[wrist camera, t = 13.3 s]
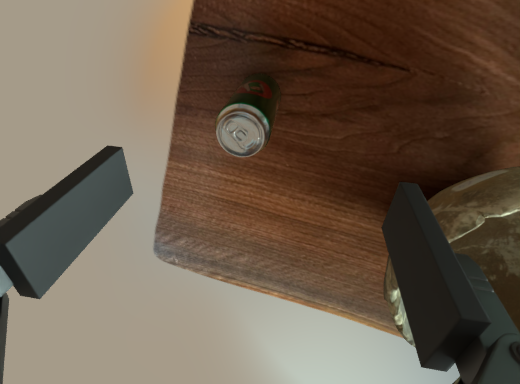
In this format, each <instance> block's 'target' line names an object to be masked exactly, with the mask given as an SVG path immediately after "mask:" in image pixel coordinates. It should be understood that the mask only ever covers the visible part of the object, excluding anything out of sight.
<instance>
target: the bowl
mask: <svg viewBox="0 0 520 384" xmlns="http://www.w3.org/2000/svg"><path fill="white" fill-rule="evenodd" d="M427 202H428V204H429V206H430V208H431V210H432V212H433V214H434V216H435V217H436V219H437V221H438V223H439V225H440V227H441V229H442V230H443V232H444V234H445V236H446V238H447V240H448V242H449V244H450V245H451V247H452V249H453V251H454V253H459V254H467V255H468V256H469V257H470V258H471V259H472V260H473V261H475V262H476V263H477V264H478V265H479V266H480V268H481V269H482V271H483V273H484V274H485V276H486V278H487V279H488V280H487V282H489V283H490V284H491V286H492V288H493V289H494V293H496V294H497V296H498V298H499V299H500V301H501V303H502V304H503V306H504V308H505V309H506V311H507V313H508V314H509V316H510V318H511V319H512V321H513V323H514V324H515V326H516V328H517V329H518V331H519V333H520V167H511V168H506V169H500V170H495V171H491V172H487V173H484V174H481V175H478V176H474V177H471V178H469V179H466V180H463V181H461V182H458V183H456V184H454V185H452V186H450V187H448V188H446V189H444V190H442V191H440V192H439V193H437V194H436V195H435V196H433V197H432V198H431V199H429V200H428V201H427ZM384 299H385V300H386V301H387V303H388V306H389V310H390V314H391V317H392V320H393V321H394V323H395V325H396V327H397V329H398V331H399V332H400V334H401V335H402V336H403V337H404V339H405V340H406V341H407V342H409V343H410V344H411V345H413V346H414V347H415V343H414V340H413V336H412V333H411V329H410V326H409V322H408V319H407V315H406V312H405V308H404V305H403V301H402V298H401V294H400V291H399V287H398V284H397V280H396V277H395V273H394V270H393V266H392V263H391V259H390V256H388V261H387V267H386V273H385V278H384Z"/></svg>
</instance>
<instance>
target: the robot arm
mask: <svg viewBox="0 0 520 384" xmlns="http://www.w3.org/2000/svg"><path fill="white" fill-rule="evenodd" d="M132 194H133V190H132V186H131V182H130V178H129V174H128V170H127V165H126V161H125V157H124V153H123V149H122V147H115V146H106V147H105V148H104V149H102V150H101V151H100V152H98V153H97V154H96V155H94V156H93V157H92V158H90V159H89V160H88V161H86V162H85V163H84V164H82V165H81V166H80V167H79V168H77V169H76V170H75V171H73V172H72V173H71V174H69V175H68V176H67V177H65V178H64V179H63V180H61V181H60V182H59V183H57V184H56V185H55V186H54V187H52V188H51V189H49V190H48V191H47V192H46V193H44V194H43V195H39V196H37V197H34V198H32V199H30V200H28V201H26V202H25V203H23V204H22V205H21V206H19V207H18V208H17V209H15V211H13V212H11V213H10V214H8V215H7V216H6V218H5V219H4V218H3V219H2V220H0V384H2V383H3V370H4V357H5V344H6V332H7V318H8V306H9V298H8V295H7V293H6V292H7V291H8V290H9V289H10V288H11V286H14V287H15V289H16V290H17V292H18V293H19V294H20V296H25V297H31V298H36V299H40V298H41V297H42V296H43V295H44V294H45V293H46V291H47V290H48V289H49V288H50V287H51V286H52V285H53V284H54V283H55V281H56V280H57V279H58V278H59V277H60V276H61V275H62V273H63V272H64V271H65V270H66V269H67V268H68V267H69V266H70V264H71V263H72V262H73V261H74V260H75V259H76V258H77V257H78V255H79V254H80V253H81V252H82V251H83V250H84V249H85V247H86V246H87V245H88V244H89V243H90V242H91V241H92V240H93V238H94V237H95V236H96V235H97V233H99V232H100V230H101V229H102V228H103V227H104V226H105V225H106V224H107V222H108V221H109V220H110V219H111V218H112V217H113V216H114V215H115V213H116V212H117V211H118V210H119V209H120V207H122V206H123V204H124V203H125V202H126V201H127V200H128V199H129V198H130V196H131V195H132ZM382 231H383V234H384V238H385V241H386V245H387V248H388V252H389V256H390V259H391V263H392V266H393V270H394V273H395V277H396V280H397V284H398V287H399V291H400V294H401V298H402V301H403V305H404V308H405V312H406V315H407V319H408V322H409V326H410V329H411V333H412V336H413V340H414V343H415V347H416V350H417V354H418V357H419V361H420V364H421V367H423V368H429V369H434V370H440V371H446V372H447V371H448V370H449V369H450V368H451V367H452V365H453V364H454V363H456V365H457V368H458V371H459V373H460V377H459V378H458V379H457V380H456V381H455V382H454V383H453V384H520V333H519V331H518V329H517V328H516V326H515V324H514V323H513V321H512V319H511V318H510V316H509V314H508V313H507V311H506V309H505V308H504V306H503V304H502V303H501V301H500V299H499V298H498V296H497V294H496V293H494V289H493V288H492V286H491V284H490V283H489V282H487V280H488V279H487V278H486V276H485V274H484V273H483V271H482V269H481V268H480V266H479V265H478V264H477V263H476V262H475V261H473V260H472V259H471V258H470V257H469V256H468V255H467V254H459V253H454V251H453V249H452V247H451V245H450V244H449V242H448V240H447V238H446V236H445V234H444V232H443V230H442V229H441V227H440V225H439V223H438V221H437V219H436V217H435V216H434V214H433V212H432V210H431V208H430V206H429V204H428V202H427V201H426V199H425V197H424V195H423V193H422V191H421V189H420V187H419V186H418V184H415V183H407V182H399V185H398V188H397V190H396V193H395V195H394V198H393V200H392V203H391V205H390V208H389V210H388V213H387V215H386V218H385V220H384V223H383V225H382Z"/></svg>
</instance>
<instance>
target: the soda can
mask: <svg viewBox="0 0 520 384" xmlns="http://www.w3.org/2000/svg"><path fill="white" fill-rule="evenodd" d="M280 100H281V92H280V88H279V86H278V84H277V83H276V81H275V80H274V79H273V78H271V77H270V76H268V75H265V74H260V73H258V74H253V75H250V76H248V77H247V78H246V79H245V80H244V81H243V82H242V83H241V85H240V86H239V87H238V89H237V90H236V91H235V93H234V94H233V95H232V97H231V98H230V99H229V101H228V102H227V103H226V105H225V106H224V107H223V109H222V110H221V111H220V113H219V114H218V116H217V119H216V124H215V130H216V135H217V139H218V142H219V143H220V145H221V146H222V148H223V149H224V150H225V151H227V152H228V153H230V154H231V155H234V156H237V157H249V156H252V155H254V154H256V153H258V152H260V151H261V150H262V149H263V148H264V147H265V146H266V145H267V143H268V141H269V139H270V135H271V132H272V128H273V125H274V121H275V118H276V115H277V111H278V108H279V104H280Z"/></svg>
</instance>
